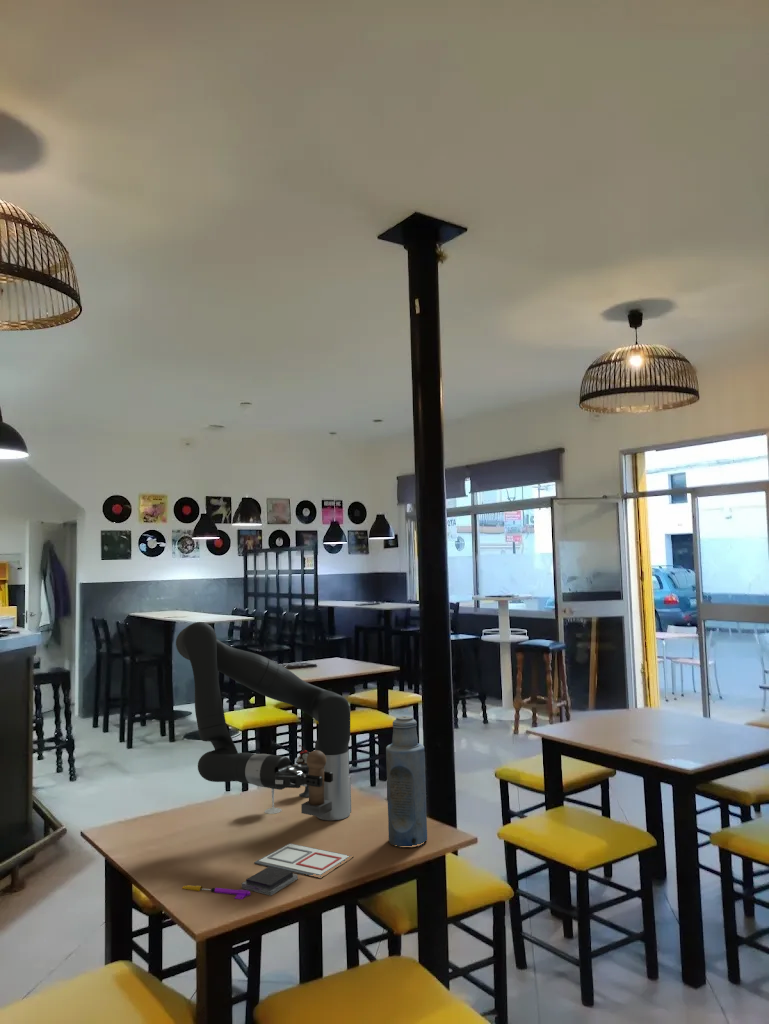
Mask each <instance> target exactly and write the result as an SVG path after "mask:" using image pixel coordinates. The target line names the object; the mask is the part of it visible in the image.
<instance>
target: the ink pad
mask: <svg viewBox="0 0 769 1024" xmlns="http://www.w3.org/2000/svg"><path fill="white" fill-rule="evenodd" d="M295 880H296V881H297V880H298V873H294V872H292V871H288V870H283V869H279V868H274V867H270V866H269V867H268V866H266V868H264V869H262V870H261V871H259V872H256V873H254V874H253V875H251V876H249V877H247V878H246V880H245V881H243V882H242V883H241V890H248V891H250V892H255V893H259V894H263V895H267V896H273V895H274V894H276V893H277V892H279V891H281V890H282V889H284V888H285V887H287V886H289V885H291V884H292V883H293V882H296V881H295Z"/></svg>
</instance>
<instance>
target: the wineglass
mask: <svg viewBox="0 0 769 1024" xmlns="http://www.w3.org/2000/svg"><path fill="white" fill-rule="evenodd" d="M270 790H271V804H272V805H271V806H272V807H270V808H267V809H265V810H264V813H265V814H271V815H273V814H279V813H281V812H282V811H283V809H282V808H280V807H275V789H272V788H270Z"/></svg>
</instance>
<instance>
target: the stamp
mask: <svg viewBox="0 0 769 1024" xmlns="http://www.w3.org/2000/svg"><path fill="white" fill-rule="evenodd" d="M309 752H310V751H309ZM306 762H307V766H308V767H309V775H314V776H321V777H322V786H321V787H315V786H309V797H308V800H307V801H305V802H303V803H301V807H300V808H301V814H304V815H310V816H312V817H313V816H314V817H317V816H318V817H320V816H322V815H324V814H325V813H327V812H329V811H331V810H332V801H327V800H324V766H325V765H326V756H325V754H324V753H323V752H321V751H319V750H315V749H314V750H313V751H311V752H310V753H309V755H308V756H307V760H306ZM318 817H317V818H318Z"/></svg>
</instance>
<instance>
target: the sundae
mask: <svg viewBox="0 0 769 1024" xmlns="http://www.w3.org/2000/svg"><path fill="white" fill-rule="evenodd" d="M298 747H300V749H301V750H300V752H299V756H298V757H297V760H296V761H295V764H300V765H302V766H307V762H306V760H307V756H308V755H309V753H310V751H308V750H306V749H305V748H304V747H303V746H302V744H299V745H298ZM299 797H300V798H309V786H305V787H304V791H303V792H301V793H299Z"/></svg>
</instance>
